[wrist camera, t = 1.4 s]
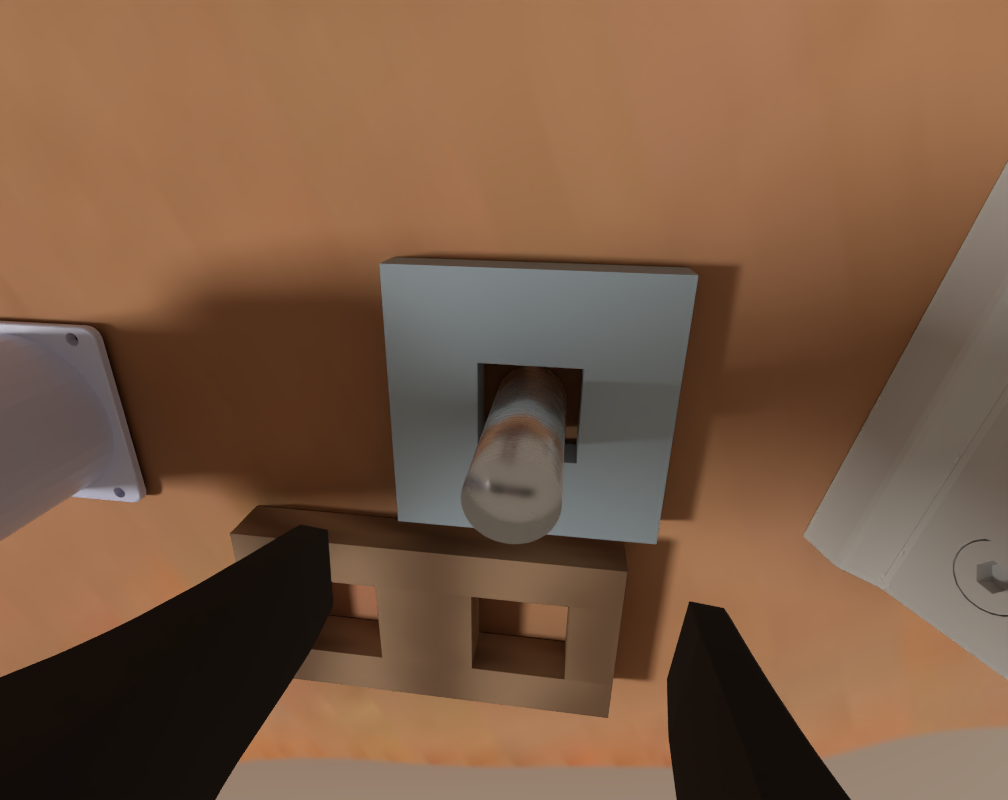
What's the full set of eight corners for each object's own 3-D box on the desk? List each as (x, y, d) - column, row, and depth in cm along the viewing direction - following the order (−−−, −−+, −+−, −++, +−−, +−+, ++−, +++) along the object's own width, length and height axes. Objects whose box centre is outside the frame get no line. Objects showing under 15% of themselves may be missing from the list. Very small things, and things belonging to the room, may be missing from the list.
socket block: (408, 499, 22) (398, 520, 21) (393, 257, 19) (379, 263, 17) (651, 520, 21) (656, 544, 20) (688, 267, 18) (698, 275, 16)
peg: (497, 427, 21) (461, 539, 14) (497, 363, 20) (459, 453, 13) (564, 431, 20) (558, 548, 14) (568, 367, 19) (565, 461, 13)
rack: (282, 640, 27) (261, 674, 25) (256, 505, 24) (229, 533, 22) (605, 678, 25) (608, 718, 23) (623, 539, 22) (627, 571, 20)
